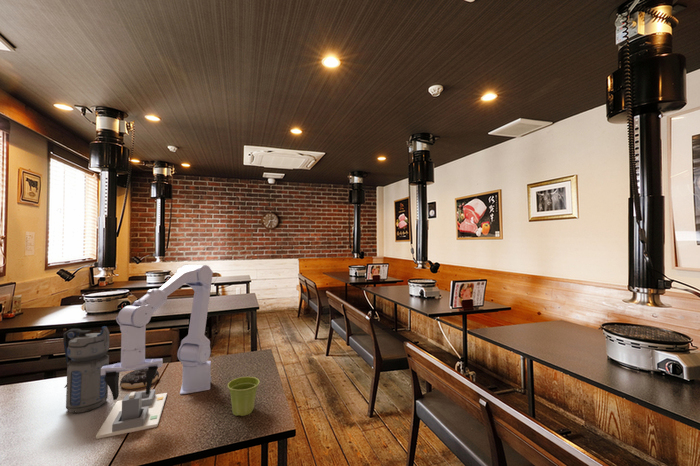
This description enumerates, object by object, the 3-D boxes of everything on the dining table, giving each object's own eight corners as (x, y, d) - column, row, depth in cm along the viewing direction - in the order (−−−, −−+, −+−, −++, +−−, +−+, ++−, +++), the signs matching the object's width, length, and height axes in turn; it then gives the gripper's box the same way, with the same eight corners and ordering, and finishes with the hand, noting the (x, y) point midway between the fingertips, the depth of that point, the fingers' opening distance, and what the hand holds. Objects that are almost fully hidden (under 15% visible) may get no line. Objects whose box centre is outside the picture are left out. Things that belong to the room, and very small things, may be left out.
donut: (125, 380, 118) (125, 369, 118) (161, 374, 123) (161, 364, 123) (116, 392, 108) (116, 381, 108) (156, 386, 112) (156, 375, 113)
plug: (141, 416, 91) (142, 389, 92) (138, 423, 88) (139, 395, 88) (125, 419, 90) (125, 391, 90) (121, 426, 86) (122, 398, 86)
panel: (167, 395, 106) (167, 386, 106) (157, 426, 88) (157, 416, 88) (117, 403, 100) (117, 394, 100) (95, 439, 82) (96, 428, 82)
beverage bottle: (76, 398, 103) (78, 323, 104) (117, 397, 104) (119, 322, 105) (47, 415, 93) (51, 331, 94) (93, 414, 94) (96, 331, 95)
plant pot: (250, 400, 103) (250, 373, 103) (264, 411, 96) (265, 383, 96) (221, 410, 96) (222, 382, 96) (235, 423, 89) (235, 393, 90)
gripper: (97, 356, 83) (95, 407, 82) (160, 348, 88) (159, 396, 88) (105, 347, 89) (104, 395, 89) (164, 341, 95) (163, 386, 95)
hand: (132, 395), depth 89 cm, fingers open, 7 cm apart
